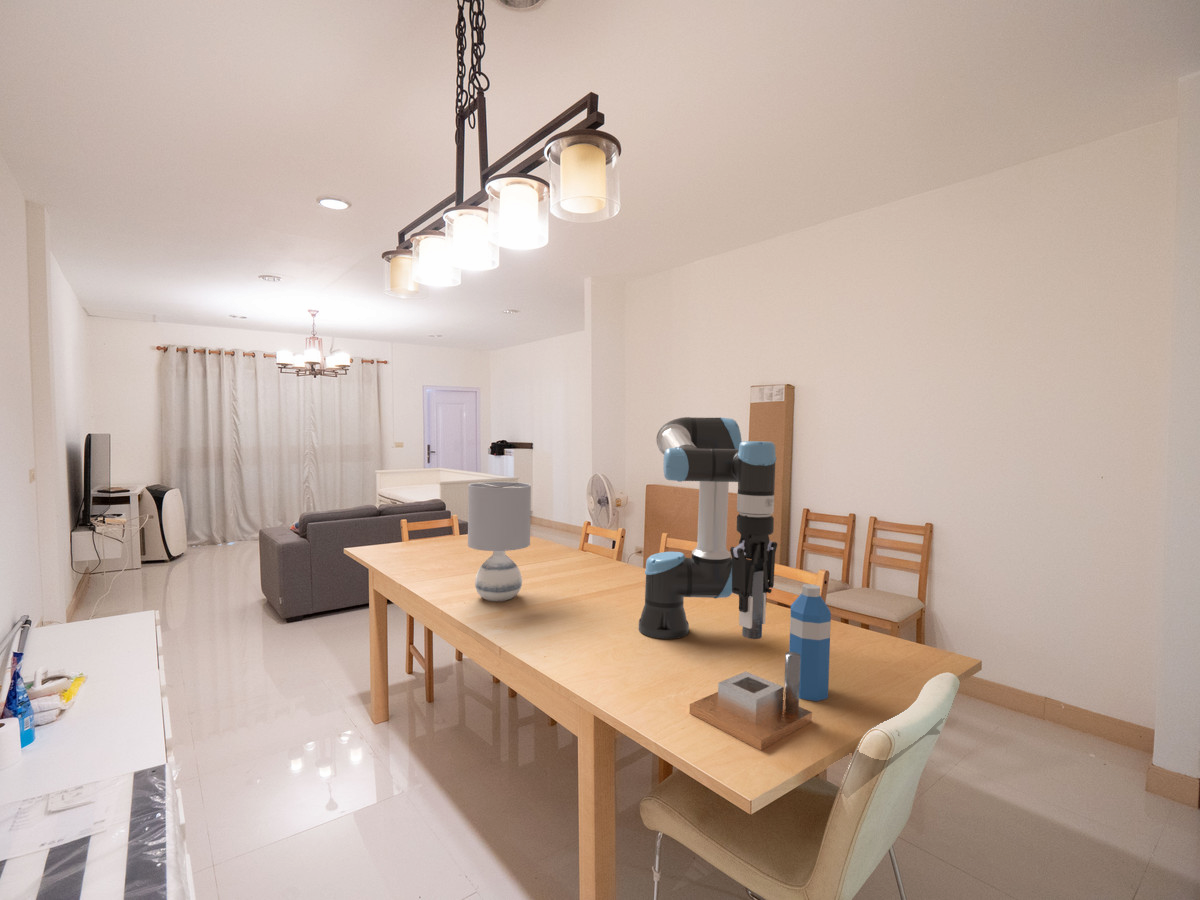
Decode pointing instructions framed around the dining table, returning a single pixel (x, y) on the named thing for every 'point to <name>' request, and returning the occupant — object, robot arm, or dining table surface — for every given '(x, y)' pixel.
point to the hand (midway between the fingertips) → (752, 624)
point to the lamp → (499, 534)
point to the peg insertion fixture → (756, 706)
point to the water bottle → (811, 642)
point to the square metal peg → (756, 606)
